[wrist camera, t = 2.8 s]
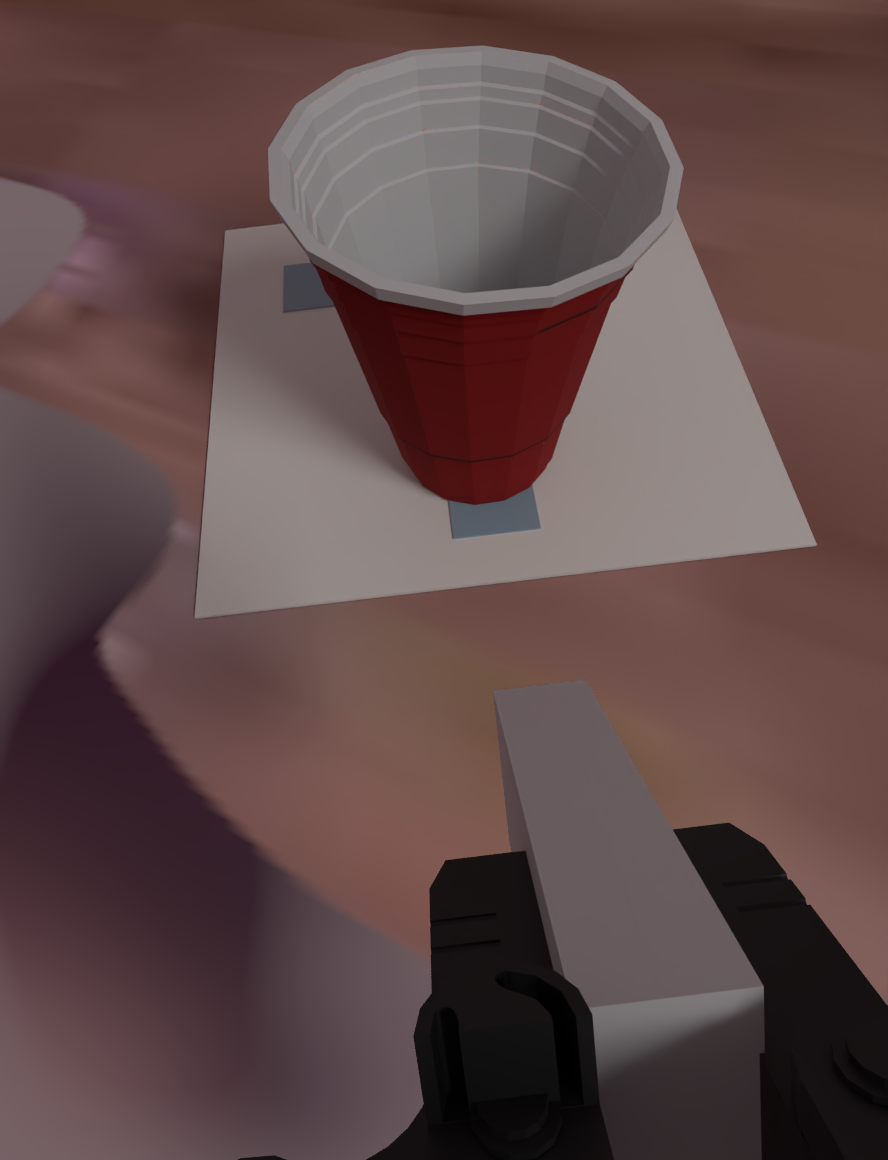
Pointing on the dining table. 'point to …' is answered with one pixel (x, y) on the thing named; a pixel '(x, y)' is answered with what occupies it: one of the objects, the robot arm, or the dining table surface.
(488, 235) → the plastic cup
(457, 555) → the placemat
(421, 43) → the dining table surface
